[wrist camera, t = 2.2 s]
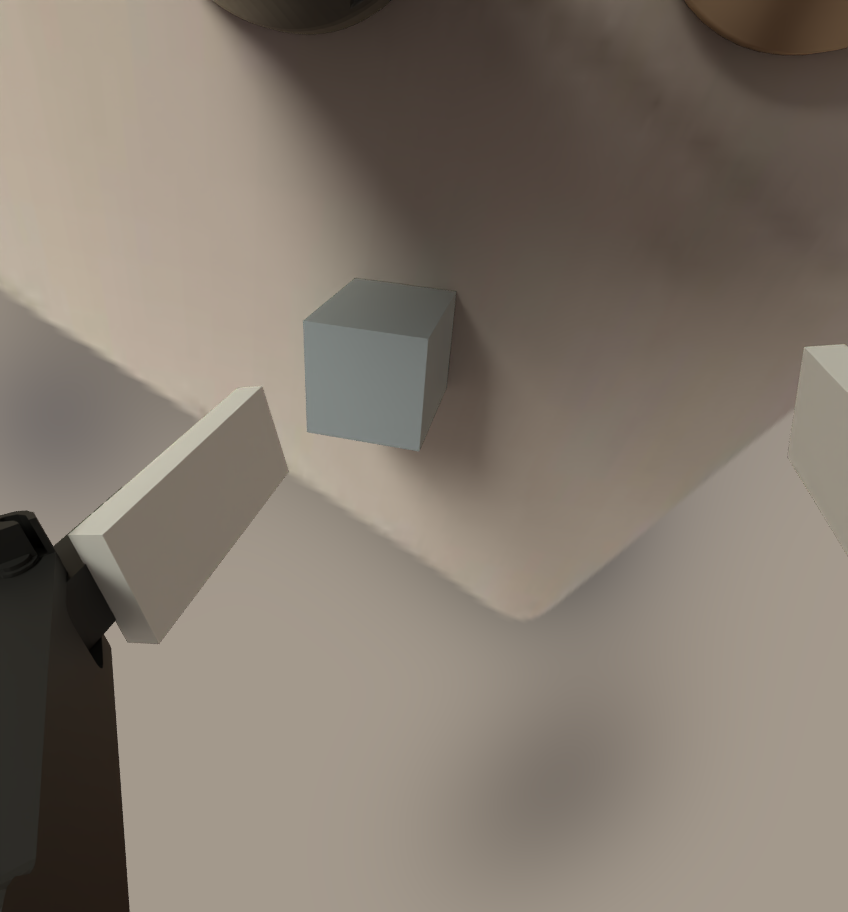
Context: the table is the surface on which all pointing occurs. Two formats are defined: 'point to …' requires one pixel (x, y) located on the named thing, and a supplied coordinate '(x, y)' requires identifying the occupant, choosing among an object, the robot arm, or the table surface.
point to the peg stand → (778, 24)
